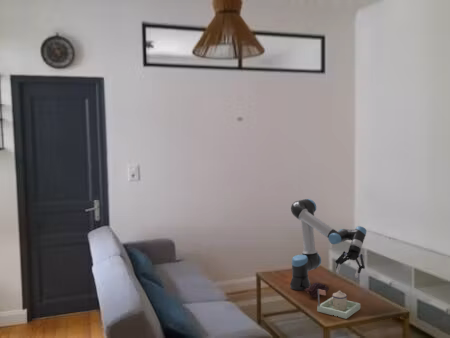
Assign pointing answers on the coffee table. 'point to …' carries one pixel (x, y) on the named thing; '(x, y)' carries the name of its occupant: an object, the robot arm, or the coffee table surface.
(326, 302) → the mint green square tray
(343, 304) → the teacup with lid
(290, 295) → the coffee table surface
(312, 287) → the pine cone
